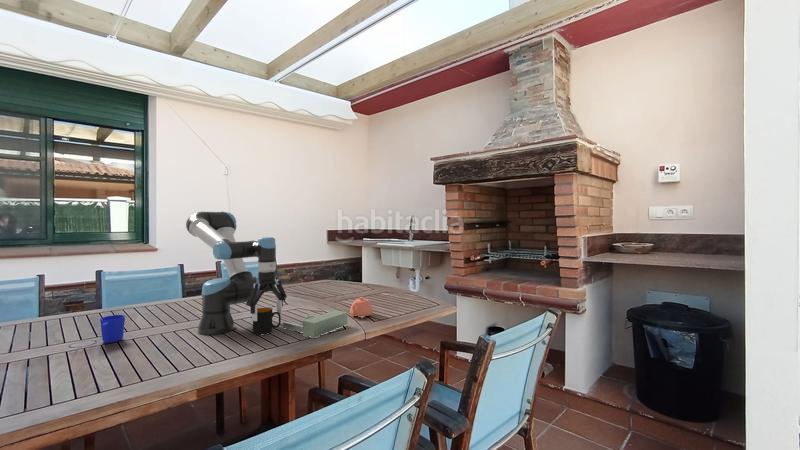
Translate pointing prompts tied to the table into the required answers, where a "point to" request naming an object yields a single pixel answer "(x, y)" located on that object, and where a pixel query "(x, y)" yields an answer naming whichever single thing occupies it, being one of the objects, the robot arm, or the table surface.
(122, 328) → the mug
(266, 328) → the mug
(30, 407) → the table surface
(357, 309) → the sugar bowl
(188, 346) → the table surface
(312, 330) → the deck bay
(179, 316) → the table surface
